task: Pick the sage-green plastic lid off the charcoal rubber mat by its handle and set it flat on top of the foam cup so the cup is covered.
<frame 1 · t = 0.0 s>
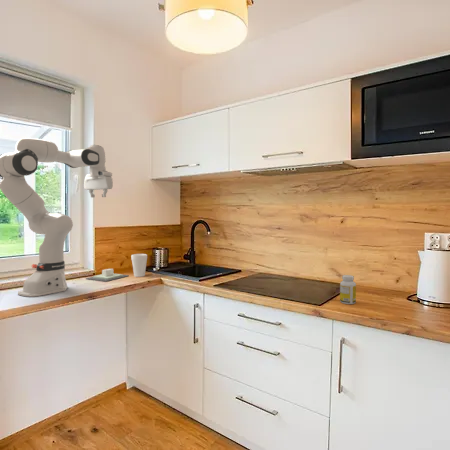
hand: (98, 197, 197), 48 cm above the countertop, tool pointing down, fingers open, 8 cm apart
foam cup: (139, 276, 207), on the countertop
pill bottle: (347, 303, 146), on the countertop
mat: (107, 277, 201), on the countertop
lid: (107, 276, 201), point 1 cm above the countertop, touching mat
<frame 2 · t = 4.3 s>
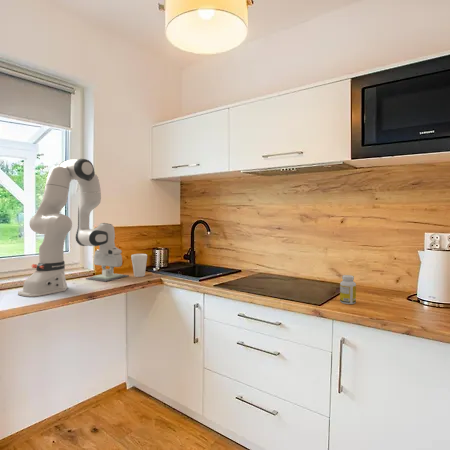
hand: (107, 273, 201), 3 cm above the countertop, tool pointing down, fingers closed on lid, 3 cm apart
lid: (107, 276, 201), point 1 cm above the countertop, touching gripper, mat
everything else where it was.
when the fingers open (16 cm above the countertop, at t = 9.3 s): lid drops 1 cm, resting on foam cup.
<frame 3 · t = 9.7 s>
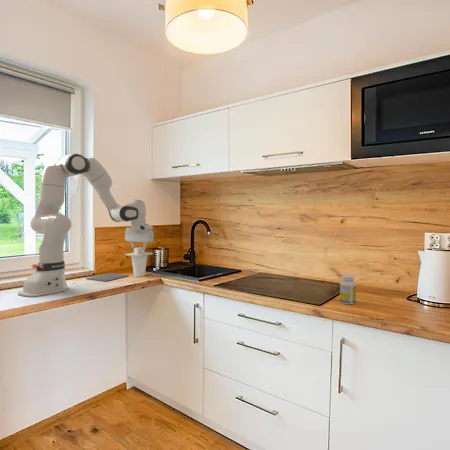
hand: (139, 249, 206), 16 cm above the countertop, tool pointing down, fingers open, 6 cm apart
foam cup: (139, 276, 207), on the countertop, touching lid
lid: (139, 254, 206), point 13 cm above the countertop, touching foam cup
everything else where it was.
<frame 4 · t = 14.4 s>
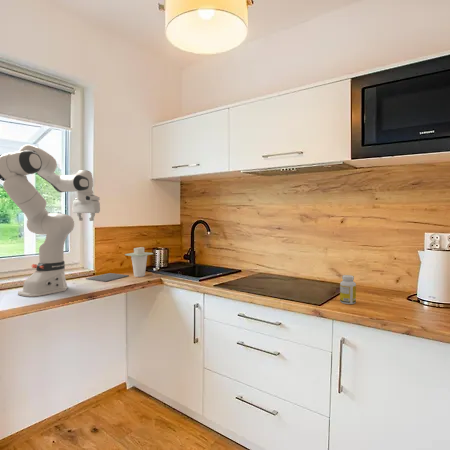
hand: (86, 220, 202), 34 cm above the countertop, tool pointing down, fingers open, 8 cm apart
nothing on the countertop moved.
at the end: lid 0.0 cm off-centre on the foam cup, point 13.2 cm above the foam cup's base; lid tilted 0°; foam cup tilted 0° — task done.
